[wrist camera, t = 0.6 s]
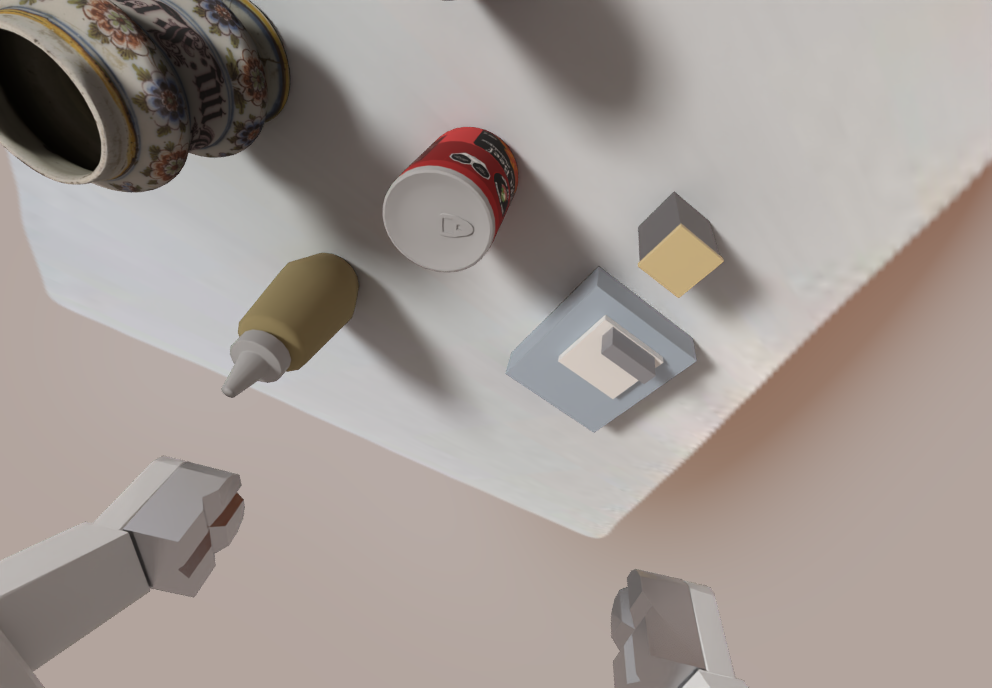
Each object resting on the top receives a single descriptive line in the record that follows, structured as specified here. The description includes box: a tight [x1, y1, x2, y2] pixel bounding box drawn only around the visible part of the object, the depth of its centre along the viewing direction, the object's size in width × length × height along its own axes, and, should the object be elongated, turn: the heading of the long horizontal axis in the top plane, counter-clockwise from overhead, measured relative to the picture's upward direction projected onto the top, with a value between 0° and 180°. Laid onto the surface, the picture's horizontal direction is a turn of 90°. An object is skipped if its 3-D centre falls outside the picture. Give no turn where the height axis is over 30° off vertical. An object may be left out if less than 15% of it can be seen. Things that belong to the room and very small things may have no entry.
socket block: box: [505, 267, 697, 432], centre depth 50 cm, size 14×12×4 cm
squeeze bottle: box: [222, 253, 359, 398], centre depth 46 cm, size 8×8×18 cm
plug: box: [638, 192, 724, 298], centre depth 39 cm, size 4×4×7 cm
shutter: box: [558, 315, 663, 399], centre depth 46 cm, size 7×7×3 cm
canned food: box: [383, 127, 518, 272], centre depth 38 cm, size 8×8×11 cm
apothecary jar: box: [0, 0, 290, 192], centre depth 34 cm, size 12×12×18 cm
